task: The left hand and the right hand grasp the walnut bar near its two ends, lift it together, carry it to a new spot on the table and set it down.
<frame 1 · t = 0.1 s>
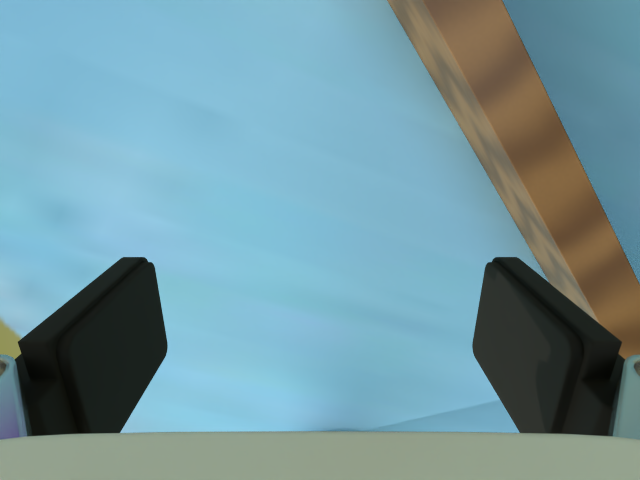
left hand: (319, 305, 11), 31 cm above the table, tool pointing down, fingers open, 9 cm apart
bar: (493, 136, 39), on the table
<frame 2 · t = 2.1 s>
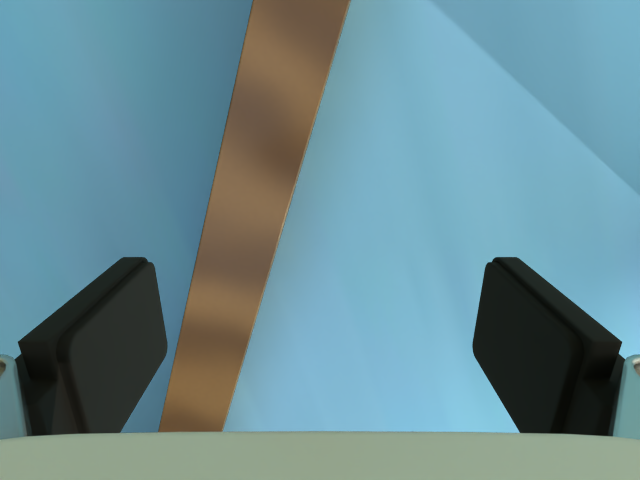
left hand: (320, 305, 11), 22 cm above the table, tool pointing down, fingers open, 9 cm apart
bar: (219, 357, 37), on the table
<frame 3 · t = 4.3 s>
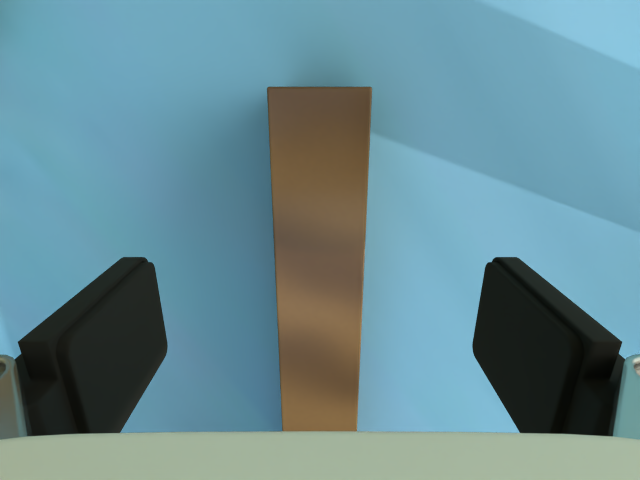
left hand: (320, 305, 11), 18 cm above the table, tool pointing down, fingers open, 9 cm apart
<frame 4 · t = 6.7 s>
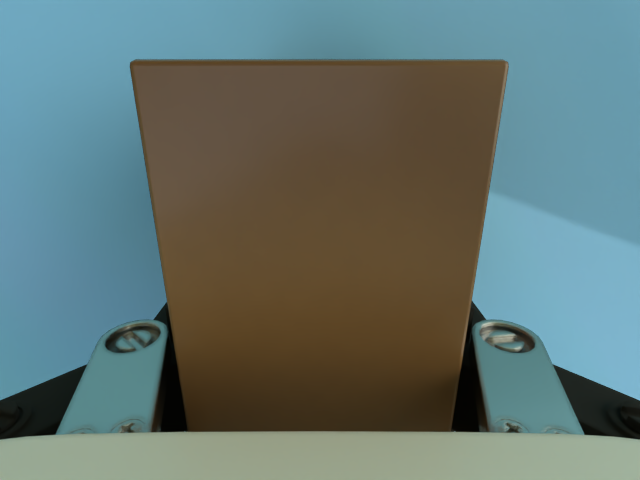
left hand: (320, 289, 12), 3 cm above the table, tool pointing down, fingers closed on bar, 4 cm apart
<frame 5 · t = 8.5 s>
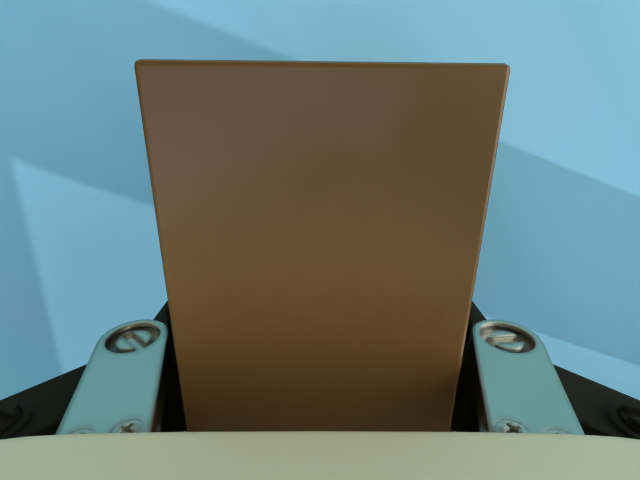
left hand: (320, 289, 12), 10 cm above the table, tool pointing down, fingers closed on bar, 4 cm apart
when the left hand's fingers open (5 cm above the table, at t = 10.3 s): bar drops 1 cm, on the table.
when the right hand's fingers open (5 cm above the table, at t = 10.3 s): bar drops 1 cm, on the table.
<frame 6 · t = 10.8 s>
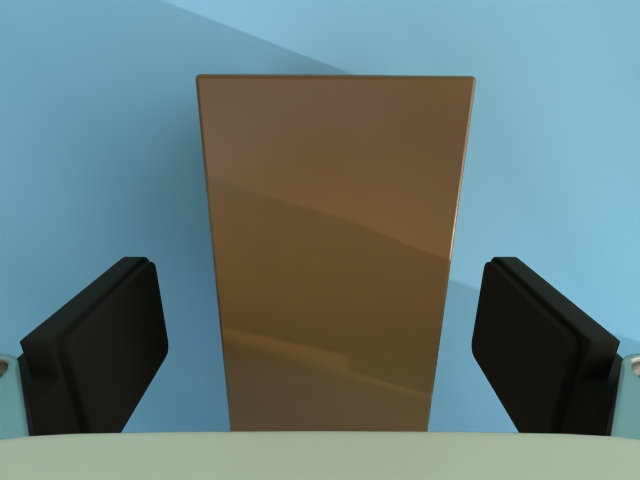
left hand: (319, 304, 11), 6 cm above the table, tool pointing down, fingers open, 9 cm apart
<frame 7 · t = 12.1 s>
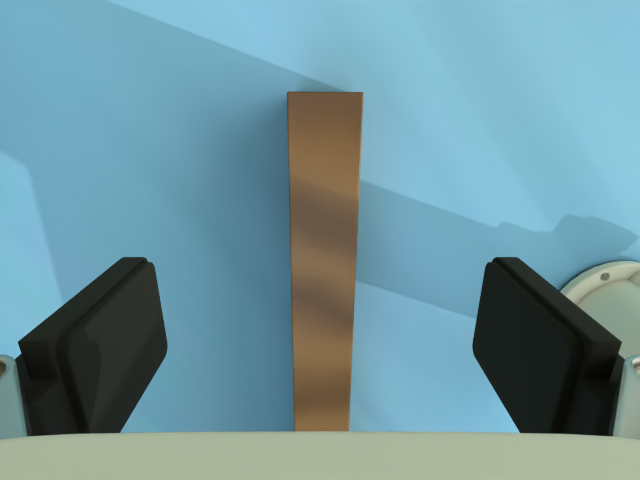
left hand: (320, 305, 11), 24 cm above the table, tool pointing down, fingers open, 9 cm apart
bar: (320, 442, 45), on the table
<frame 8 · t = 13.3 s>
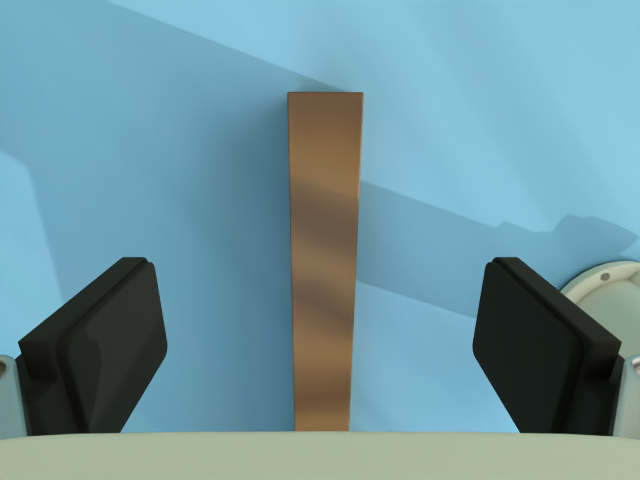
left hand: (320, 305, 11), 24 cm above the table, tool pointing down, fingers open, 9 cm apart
bar: (320, 442, 45), on the table
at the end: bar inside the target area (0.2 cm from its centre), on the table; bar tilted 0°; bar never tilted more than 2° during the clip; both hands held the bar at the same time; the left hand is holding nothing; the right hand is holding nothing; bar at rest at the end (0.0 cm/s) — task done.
